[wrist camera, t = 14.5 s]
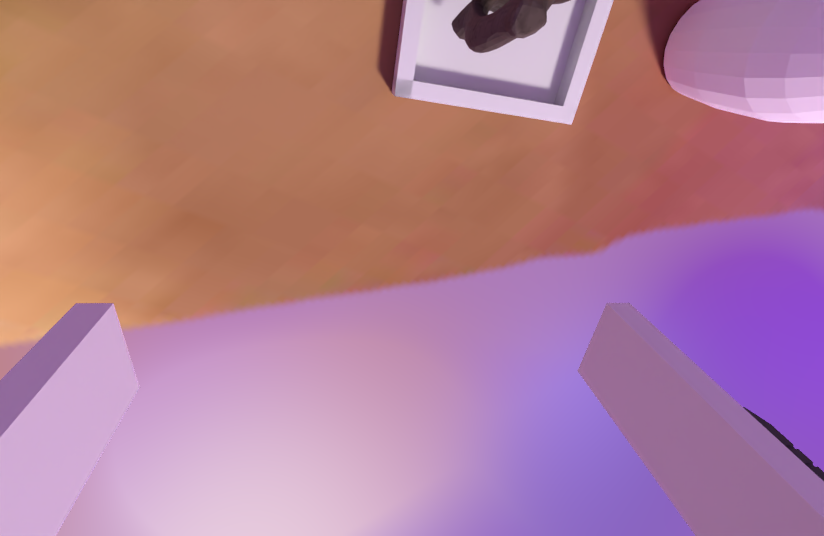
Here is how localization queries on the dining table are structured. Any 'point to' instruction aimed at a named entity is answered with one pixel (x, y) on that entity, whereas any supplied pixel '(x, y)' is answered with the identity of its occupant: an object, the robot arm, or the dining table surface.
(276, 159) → the dining table surface
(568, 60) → the tray
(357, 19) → the dining table surface
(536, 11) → the beer stein
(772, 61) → the bottle
